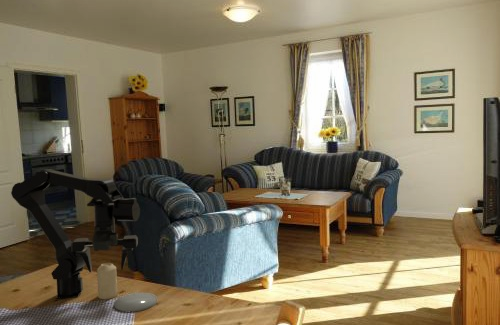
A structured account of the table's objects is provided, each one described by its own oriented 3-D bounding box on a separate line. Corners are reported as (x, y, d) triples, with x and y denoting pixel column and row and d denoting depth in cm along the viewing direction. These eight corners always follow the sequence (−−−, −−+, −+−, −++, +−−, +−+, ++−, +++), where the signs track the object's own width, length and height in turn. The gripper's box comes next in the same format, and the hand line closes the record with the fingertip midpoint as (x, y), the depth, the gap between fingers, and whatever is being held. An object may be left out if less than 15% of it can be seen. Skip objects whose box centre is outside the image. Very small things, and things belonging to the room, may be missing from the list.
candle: (111, 299, 121) (109, 267, 120) (94, 298, 122) (93, 266, 121) (120, 293, 126) (119, 261, 126) (104, 291, 127) (103, 260, 127)
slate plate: (111, 313, 111) (111, 311, 111) (117, 297, 123) (117, 294, 123) (156, 309, 113) (156, 306, 113) (157, 293, 125) (157, 291, 125)
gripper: (65, 227, 113) (67, 282, 114) (134, 224, 117) (135, 277, 118) (74, 220, 124) (76, 270, 125) (137, 217, 128) (138, 265, 128)
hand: (106, 270), depth 124 cm, fingers open, 9 cm apart
